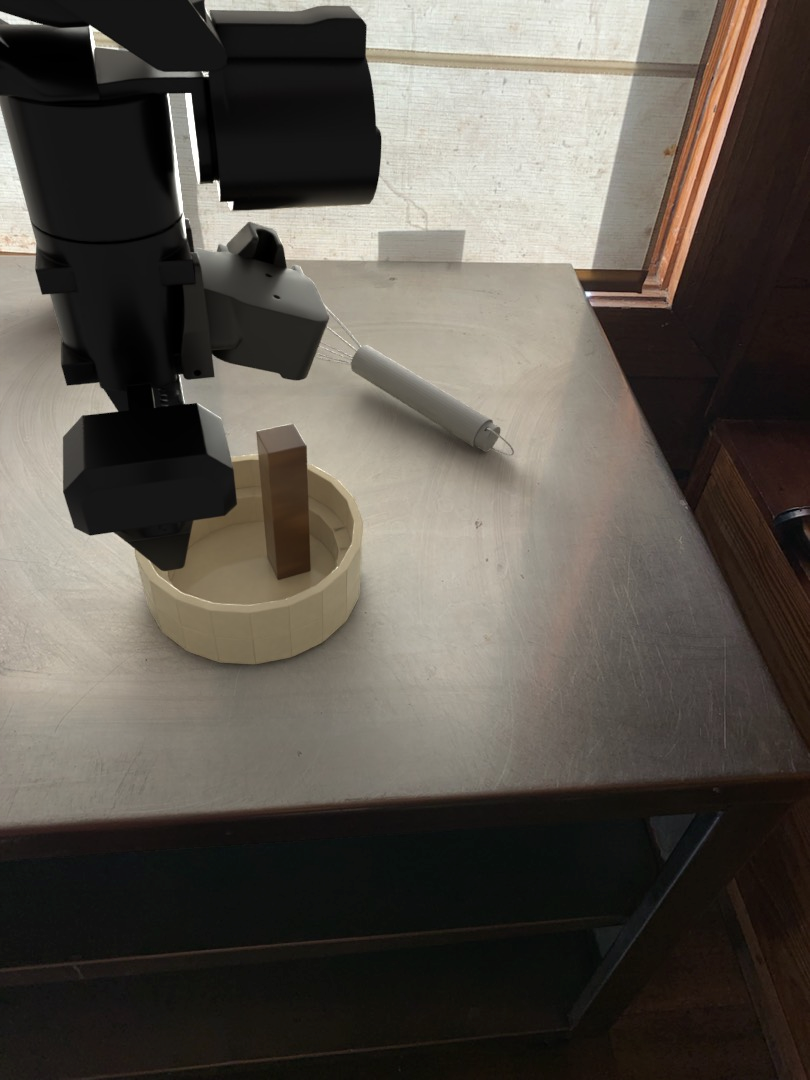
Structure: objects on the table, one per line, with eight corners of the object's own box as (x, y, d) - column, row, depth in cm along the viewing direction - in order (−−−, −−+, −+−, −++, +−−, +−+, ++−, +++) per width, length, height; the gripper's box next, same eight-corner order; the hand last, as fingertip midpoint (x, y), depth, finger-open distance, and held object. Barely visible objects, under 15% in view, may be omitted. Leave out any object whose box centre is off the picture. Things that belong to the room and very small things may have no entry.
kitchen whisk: (490, 481, 63) (501, 416, 59) (212, 324, 77) (204, 263, 73) (532, 447, 67) (546, 383, 62) (259, 303, 81) (254, 243, 76)
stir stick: (277, 580, 54) (267, 454, 46) (266, 556, 55) (255, 430, 47) (311, 571, 54) (307, 445, 47) (299, 548, 56) (293, 422, 48)
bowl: (156, 689, 47) (140, 632, 44) (142, 528, 57) (128, 470, 53) (383, 644, 51) (387, 588, 47) (335, 499, 60) (334, 443, 56)
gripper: (369, 314, 27) (355, 610, 38) (271, 125, 39) (282, 390, 50) (13, 345, 24) (111, 655, 35) (29, 130, 36) (97, 410, 47)
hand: (164, 505), depth 42 cm, fingers open, 9 cm apart
